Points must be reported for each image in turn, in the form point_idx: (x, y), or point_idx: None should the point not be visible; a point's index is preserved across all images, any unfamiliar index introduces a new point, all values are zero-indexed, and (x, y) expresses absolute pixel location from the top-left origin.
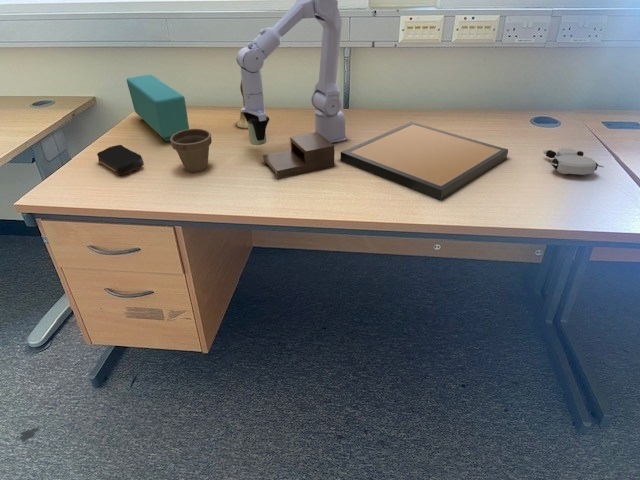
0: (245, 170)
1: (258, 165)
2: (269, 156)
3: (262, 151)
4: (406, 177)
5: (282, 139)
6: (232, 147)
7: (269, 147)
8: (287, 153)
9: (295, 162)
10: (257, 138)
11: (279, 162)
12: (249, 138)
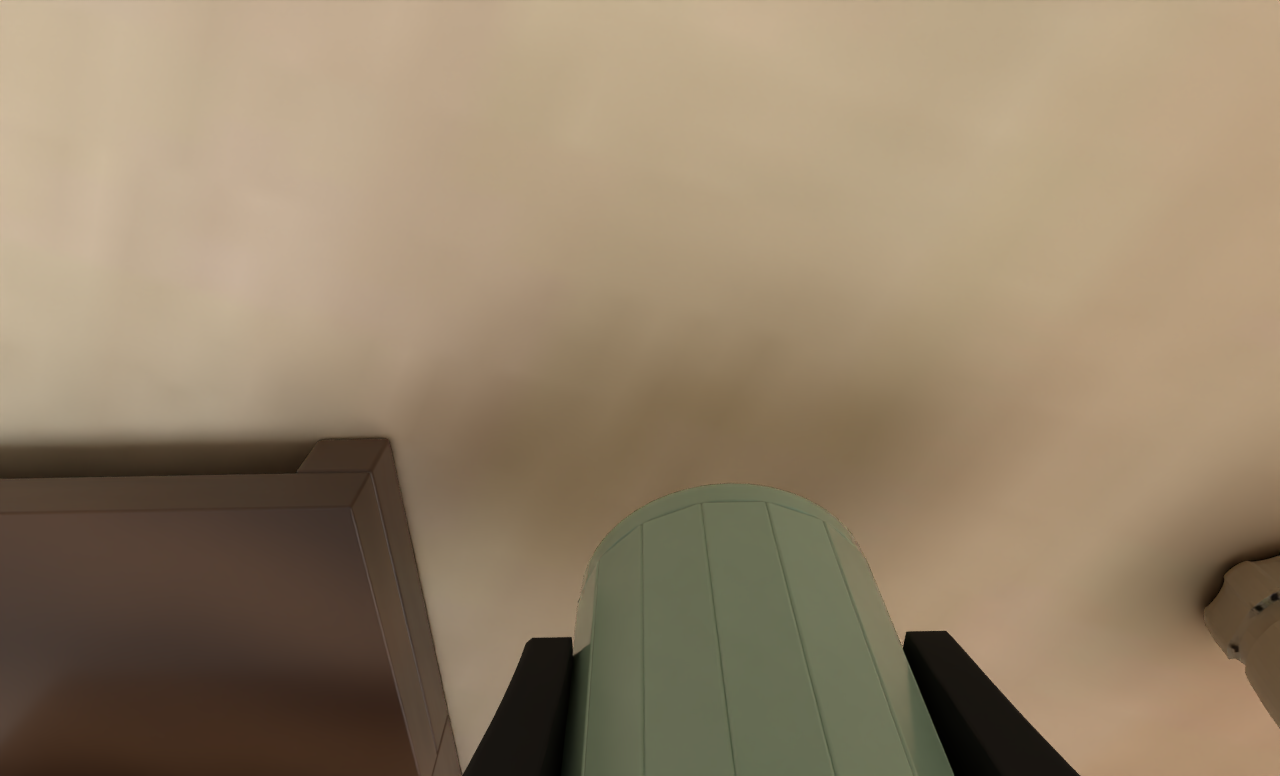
0: (195, 133)
1: (335, 359)
2: (281, 569)
3: None
4: None
5: None
6: (1207, 189)
7: None
8: (323, 750)
9: (21, 747)
10: (515, 676)
11: (40, 616)
12: (761, 543)
